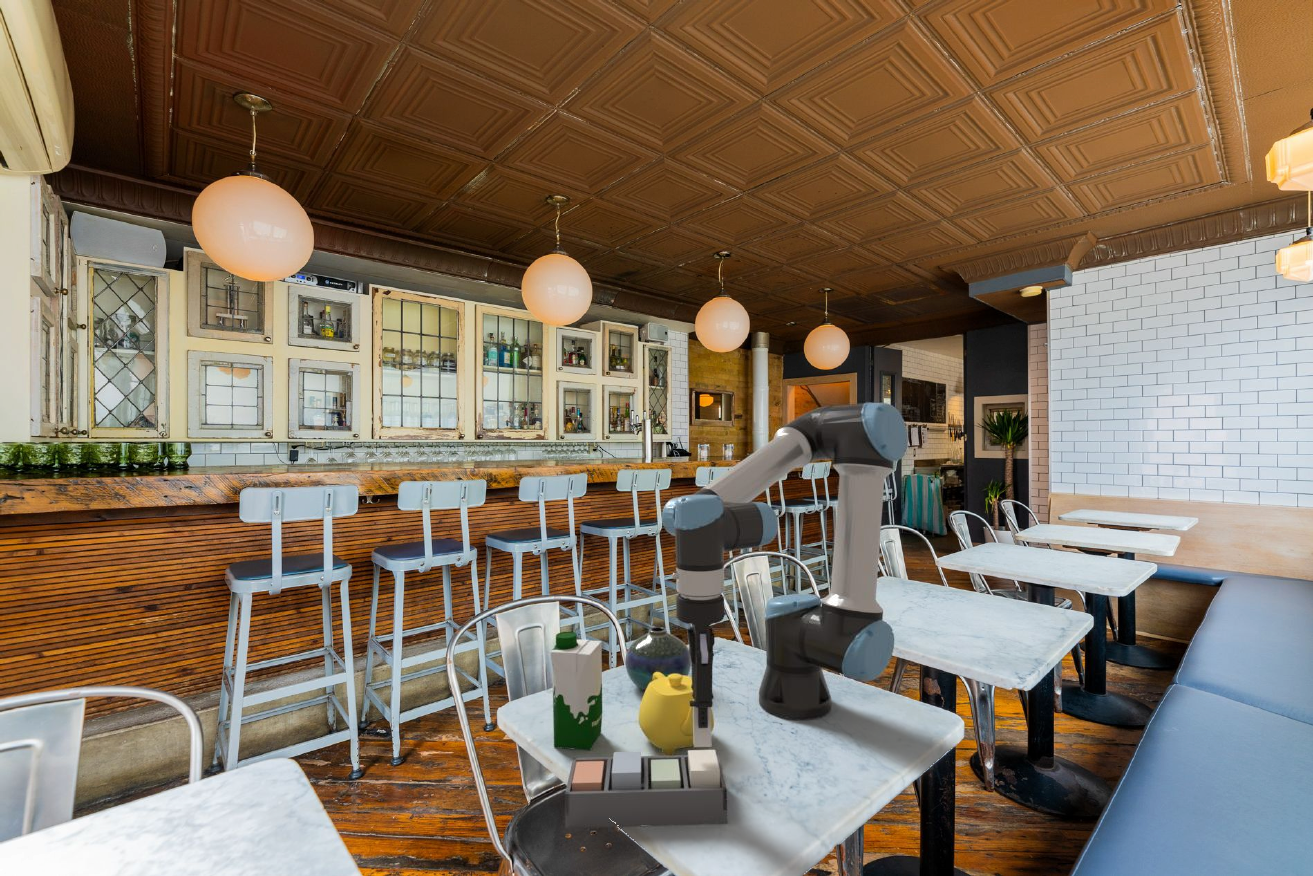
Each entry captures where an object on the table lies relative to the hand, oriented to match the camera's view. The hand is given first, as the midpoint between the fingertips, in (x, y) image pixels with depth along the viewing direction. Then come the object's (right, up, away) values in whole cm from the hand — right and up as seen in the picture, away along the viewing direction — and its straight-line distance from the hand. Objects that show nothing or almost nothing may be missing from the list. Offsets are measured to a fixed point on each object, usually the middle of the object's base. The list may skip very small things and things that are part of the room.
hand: (702, 744), depth 92 cm
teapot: (-3, -10, +19) cm, 21 cm away
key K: (-12, -6, 0) cm, 13 cm away
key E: (-18, -7, -1) cm, 19 cm away
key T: (-6, -7, 0) cm, 9 cm away
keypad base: (-9, -9, 0) cm, 13 cm away
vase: (-7, -10, +45) cm, 46 cm away
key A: (0, -5, 0) cm, 5 cm away
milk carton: (-22, -10, +20) cm, 32 cm away
